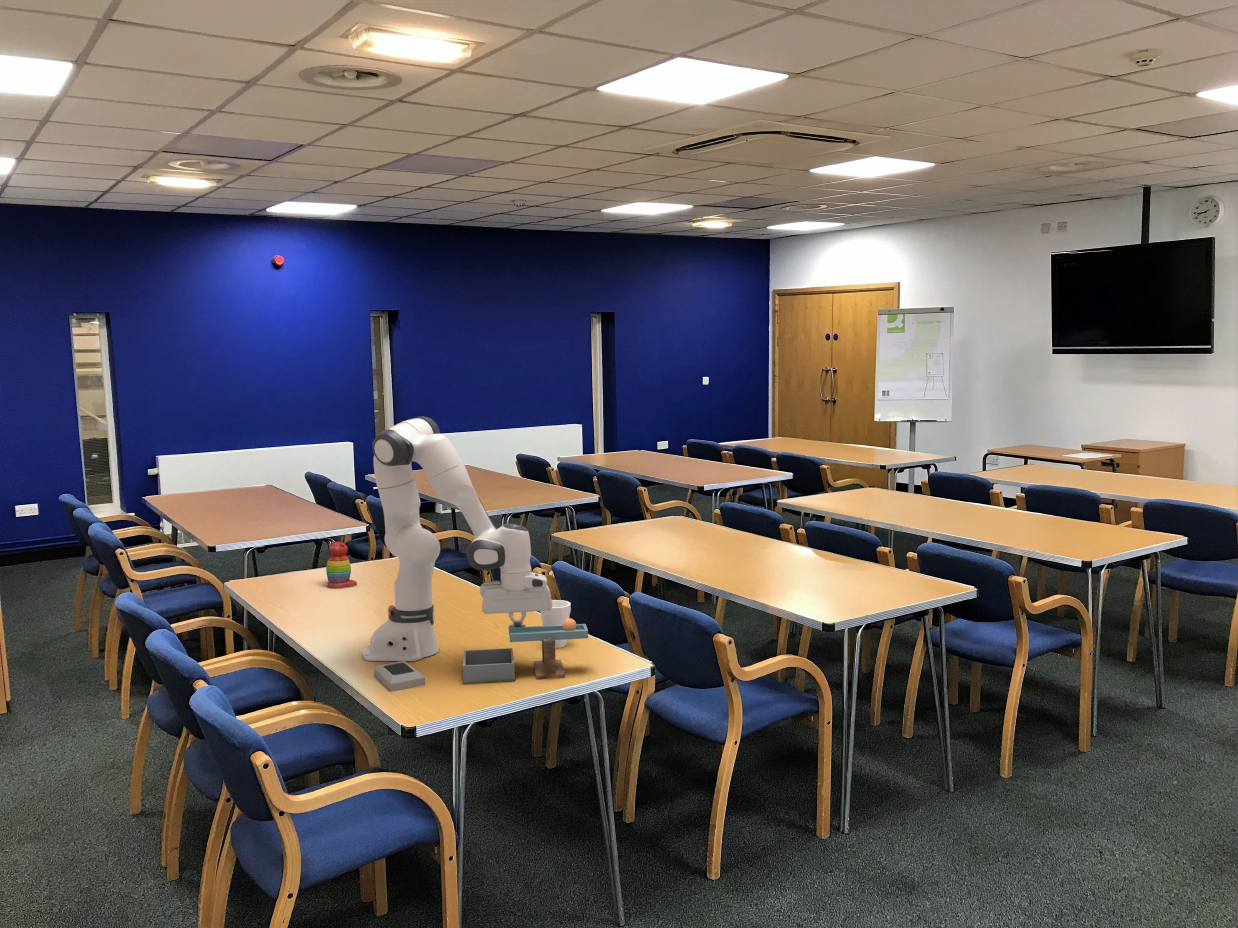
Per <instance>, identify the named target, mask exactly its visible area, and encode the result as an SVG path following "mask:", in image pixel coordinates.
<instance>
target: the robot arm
mask: <svg viewBox="0 0 1238 928" xmlns="http://www.w3.org/2000/svg"><path fill="white" fill-rule="evenodd" d="M372 452H373V455H374V456H373V459H372V460H373V469H374V470H373V472H374V479H375V483H376V487H377V491H378V494H379V498H380V503H381V507H382V511H383V516H384V517H383V518H384V527H385V528H384V530H385V534H384V544H385V546H386V548H387V550H388V551H389V552H390V553H391V554H392V556H394V557H397V558H398V559H399V565H398V566H399V567H398V571H397V572H398V573H397V577H396V578H395V580H394V605H393V604H390V605H389V606H388V608H387V611H388V612H387V614H388V615H387V616H388V619H387V621H385V622H384V623H383V624H381V625H379V627H378V628H376V630H374V631H373V633H372V635H371V638H370V643H369V645H368V646H366V647H365V648H364V650H363V652H362V659H364V661H368V662H369V661H370V662H371V661H372V662H375V661H376V662H400V661H406V662H416V661H418V660H421V659H422V658H426V657H430V656H433V655H435V654H437V653H438V652H439V651H440V647H439V644H438V641H437V637H436V633H435V627H434V623H435V621H436V620H435V608H434V606H435V605H434V604H433V576H434V575H433V573H434V570H435V569H434V568H435V563H436V560H437V559H438V557H440V556H439V555H440V553H441V544H440V541H439V539H438V538H437V537H436V535H435V534H434V533H432V532H431V531H430V530H428V529H426V528H423V527H422V525H421V521H420V507H421V499H420V494H419V490H418V487H417V482H416V478H415V475H414V471H413V468H412V462H415V463H417V464H418V465H419V466H420V467H421V468H422V469H423V472H424V474H425V477H426V479H427V481H428V483H429V485H430V487H431V489H432V490H433V492H434V493H435V494H436V495H437V497H438V498H439V499H440V500H442V501H443V502H446V503H449V504H452V505H453V506H455V507H457V508H458V509H459V511H460V512H461V514H462V515H463V516H464V518H465V520H466V522H467V525H468V526H469V528H470V529H471V531H472V533H473V537H474V539H473V541H472V542H470V544H469V546H468V547H467V550H466V559H467V561H468V562H467V563H469V565H470V566H471V567H472V568H473V569H475V570H477V571H489V570H495V569H500V580H494V581H489V580H487V581H485V582H483V583H481V585H480V587H479V590H480V591H479V594H480V596H481V597H482V601H481V612H482V613H483V614H485V615H492V614H494V615H495V614H496V615H497V614H508V618H509V619H510V621H511V623H512V625H513V627H523V624H524V620H525V618H526V616H527V613H528V612H529V613H531V612H540V611H549V610H551V608H552V600H553V599H552V595H551V590H550V588H549V585H548V579H547V576H545V575H544V574H542V573H541V574H540V573H536V572H533V571H532V566H531V561H530V559H531V556H532V548H531V538H530V537H531V536H530V533H529V530H528V529H527V528H526V527H525V526H523V525H521V524H517V523H505V524H502V525H501V526H500V527H499V528H498V527H497V526H496V525H495V524H494V522H493V521H492V519H491V518H490V516H489V514H488V512H487V511H486V509H485V506H484V505H483V503H482V502H481V500H480V497H479V496H478V494H477V492H476V490H475V487H474V485H473V482H472V480H471V478H470V474H469V473H468V470H467V467H466V466H465V464H464V463H463V460H462V458H461V456H460V454H459V452H458V451H457V450H456V447H455V446H454V445H453V444H452V442H451V440H450V439H449V438H448V436H446V435H444V434H442V433H441V432H440V429H439V426H438V424H437V423H436V422H435V421H434V420H433V419H432V418H430V417H427V416H415V417H413V418H411V419H407V420H403V421H401V422H399V423H396V424H394V425H393V426H392V427H389V428H388V429H387V428H386V429H384V430H382V431H381V432H379V433H378V434H377V435H376V436H375V438H374V439H373V441H372ZM515 613H520V614H521V617H520V619H515V618H514V614H515Z"/></svg>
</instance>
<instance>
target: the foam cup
mask: <svg viewBox="0 0 1238 928" xmlns="http://www.w3.org/2000/svg"><path fill="white" fill-rule="evenodd" d="M571 610H572V608H571V602H570V601H568V600H561V599H560V600H559V599H552V608H551V610H549V611H539V612H540V614H541V615H540V616H541V620H542V621H541V623H542V626H553V625H562V624H563V621H564V620H565V619H568V618H570V615H571ZM567 641H568V639H566V640H555V649H558V648H563V647H565V646H567Z"/></svg>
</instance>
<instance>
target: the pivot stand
mask: <svg viewBox="0 0 1238 928" xmlns="http://www.w3.org/2000/svg"><path fill="white" fill-rule="evenodd" d="M541 654H542V655H541V656H542V657H541V658H542V659H540V660H533V668H534V674H535V679H536V680H546V679H560V678H561V679H563V678H566V673H565V669H564V666H563V661H562V659H560V658H559V659H556V648H555V639H552V638H548V639H544V641H541Z"/></svg>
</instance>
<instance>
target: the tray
mask: <svg viewBox="0 0 1238 928" xmlns="http://www.w3.org/2000/svg"><path fill="white" fill-rule="evenodd" d="M513 650H514V649H513V647H509V648H507V647H506V648H487V649H486V648H485V649H469V650H467V649H466V650H465V649H464V650H463V656H462V657H463V660H462V662H463V663H462V677H463V678H462V682H463V685H469V684H486V683H489V684H490V683H503V682H515V681H516V680H515V657H514V651H513Z"/></svg>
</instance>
